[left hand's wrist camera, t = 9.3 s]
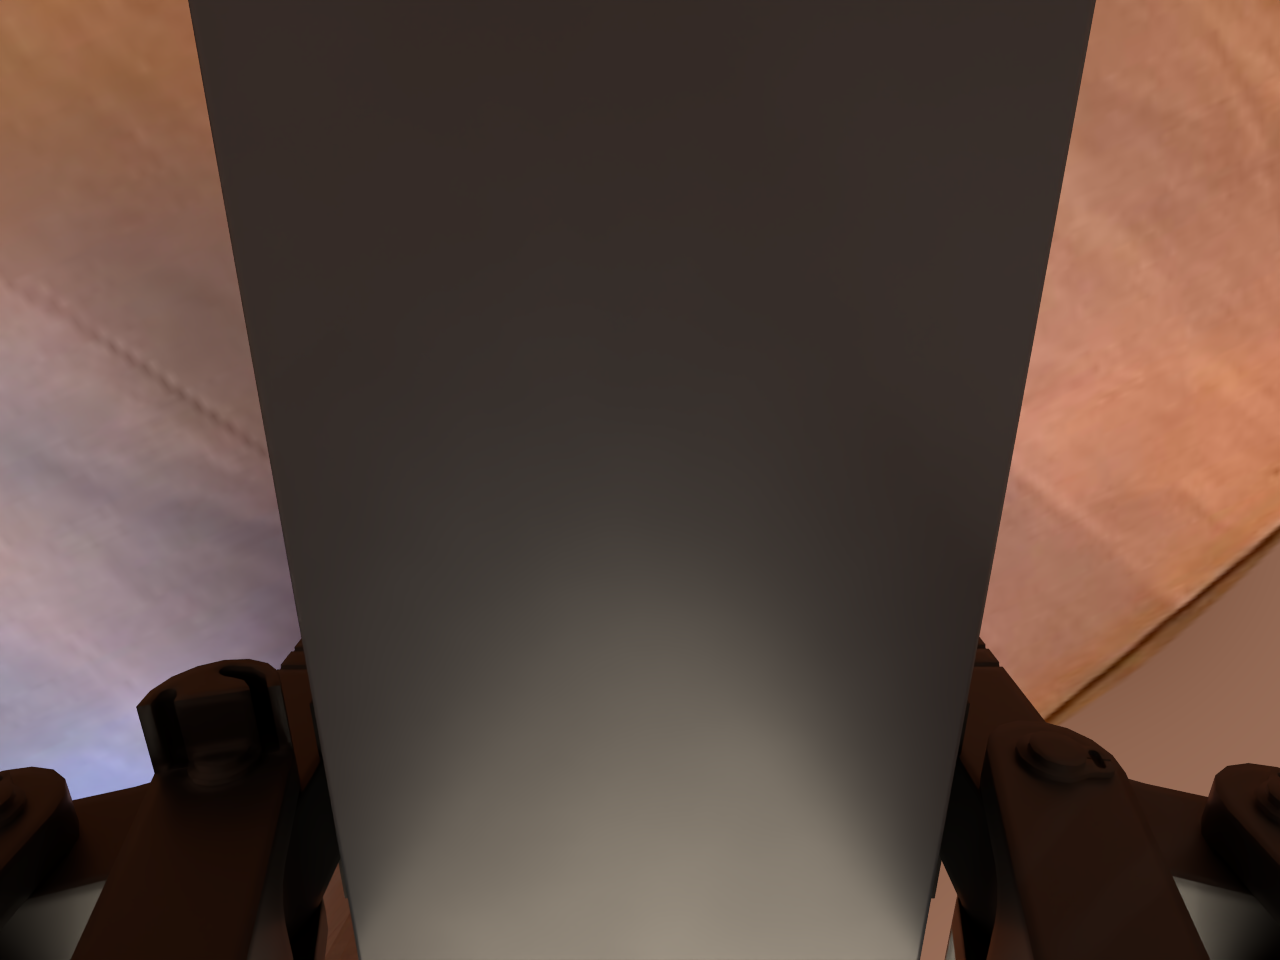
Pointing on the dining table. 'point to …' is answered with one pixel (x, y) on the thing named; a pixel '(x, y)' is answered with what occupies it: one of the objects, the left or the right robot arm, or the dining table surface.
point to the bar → (640, 442)
